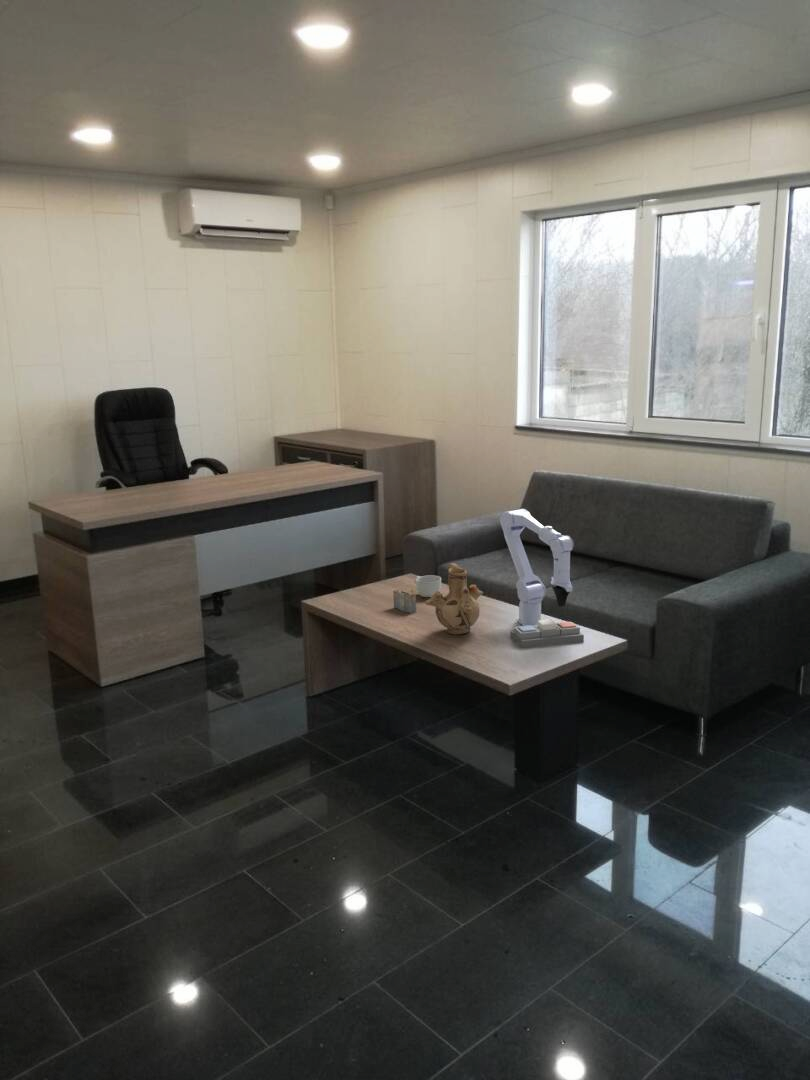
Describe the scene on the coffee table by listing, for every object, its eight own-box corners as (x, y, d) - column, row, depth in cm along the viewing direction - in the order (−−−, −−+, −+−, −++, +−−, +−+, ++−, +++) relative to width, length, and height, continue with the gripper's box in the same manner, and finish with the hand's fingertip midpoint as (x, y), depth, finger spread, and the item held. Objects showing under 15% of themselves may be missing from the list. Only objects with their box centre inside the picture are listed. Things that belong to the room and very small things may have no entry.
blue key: (517, 633, 306) (517, 626, 306) (531, 631, 308) (531, 625, 307) (522, 637, 302) (522, 630, 301) (536, 636, 303) (536, 629, 302)
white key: (537, 627, 308) (537, 620, 307) (550, 626, 309) (550, 619, 308) (542, 631, 303) (542, 624, 303) (556, 630, 304) (556, 623, 304)
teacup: (446, 597, 364) (446, 579, 362) (424, 601, 358) (424, 582, 357) (429, 590, 375) (429, 572, 374) (408, 593, 370) (407, 576, 369)
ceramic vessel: (424, 635, 314) (423, 569, 309) (446, 620, 331) (445, 558, 326) (470, 642, 306) (470, 574, 301) (490, 626, 323) (490, 562, 317)
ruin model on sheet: (417, 613, 343) (416, 589, 341) (411, 614, 342) (410, 591, 339) (399, 607, 352) (399, 584, 350) (393, 608, 350) (393, 585, 348)
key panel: (510, 637, 310) (510, 625, 309) (569, 631, 315) (569, 619, 314) (522, 647, 299) (522, 635, 298) (583, 641, 304) (583, 629, 303)
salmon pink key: (557, 629, 310) (557, 622, 309) (569, 628, 311) (570, 621, 310) (562, 633, 305) (562, 626, 304) (575, 632, 306) (575, 625, 306)
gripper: (543, 566, 314) (543, 601, 317) (559, 575, 300) (558, 612, 303) (561, 564, 316) (561, 600, 318) (578, 573, 302) (577, 610, 305)
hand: (561, 606), depth 311 cm, fingers closed
